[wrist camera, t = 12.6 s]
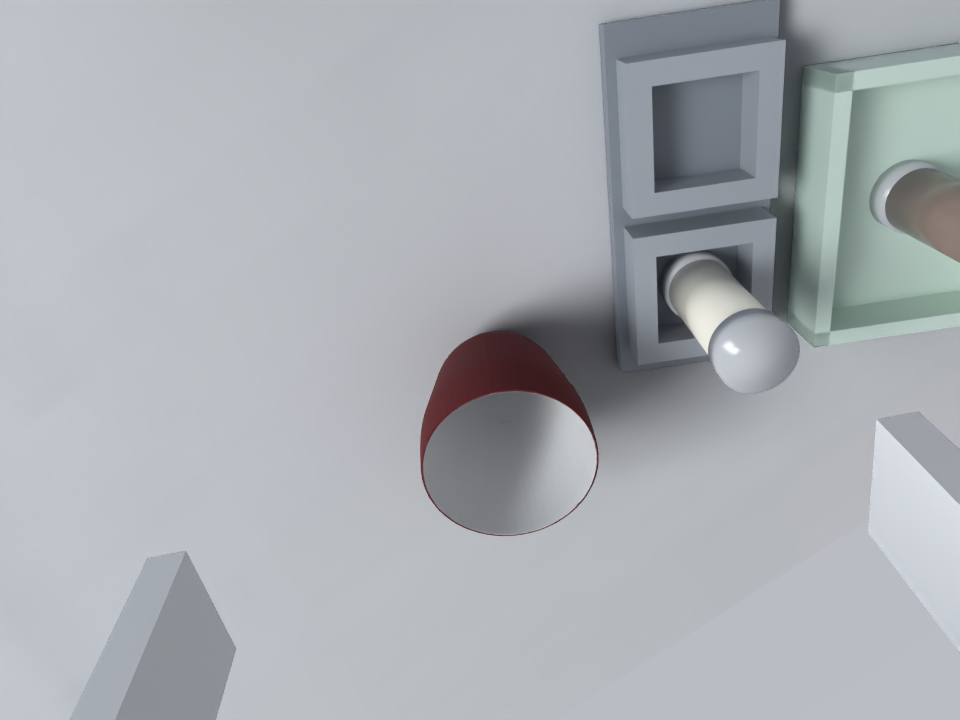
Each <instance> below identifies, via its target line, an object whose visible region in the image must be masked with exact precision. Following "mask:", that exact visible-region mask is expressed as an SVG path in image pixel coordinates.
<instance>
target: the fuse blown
mask: <svg viewBox="0 0 960 720" xmlns="http://www.w3.org/2000/svg"><path fill="white" fill-rule="evenodd" d="M869 206H870V211H871V213H872V215H873V217H874V218H875V220H876V221H877V222H879V223H880V224H882V225H884V226H886V227H888V228H889V229H891V230H893V231H895V232H897V233H901V234H907V235H909V236H911V237H913V238H915V239H916V240H918V241H920V242H922V243H924V244H926V245H928V246H929V247H931V248H933V249H935V250H937V251H939V252H940V253H942V254H944V255H946V256H948V257H950V258H952V259H953V260H955V261H957V262H959V263H960V179H959V178H956V177H954V176H951V175H949V174H947V173H946V172H945V171H944V170H943V169H941V168H939V167H937V166H934V165H932V164H929V163H926V162H924V161H921V160H913V159H912V160H905V161H901V162H899V163H896V164H894V165H893V166H891V167H890V168H888V169H887V170H886V171H885V172H883V173H882V174H881V176H880V177H879V178H878V179H877V181H876V182H875V184H874V186H873V188H872V191H871V194H870V199H869Z"/></svg>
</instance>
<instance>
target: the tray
mask: <svg viewBox="0 0 960 720" xmlns="http://www.w3.org/2000/svg"><path fill="white" fill-rule="evenodd" d="M912 159H913V160H921V161H924V162H926V163H929V164H932V165H934V166H937V167H939V168H941V169H943V170H944V171H945V172H946V173H947V174H949V175H951V176H954V177H956V178H959V179H960V43H955V44H949V45H942V46H935V47H929V48H922V49H915V50H909V51H902V52H895V53H889V54H882V55H875V56H869V57H862V58H855V59H849V60H842V61H835V62H829V63H822V64H815V65H809V66H803V76H802V92H801V107H800V123H799V139H798V155H797V170H796V186H795V202H794V218H793V233H792V249H791V265H790V281H789V296H788V312H787V322H788V323H789V324H790V325H791V326H792V327H793V328H794V329H795V330H796V331H797V332H798V333H799V334H800V335H801V336H802V337H803V338H804V339H805V340H806V341H807V342H808V343H809V344H810V345H812V346H813V347H820V346H827V345H834V344H841V343H848V342H855V341H861V340H868V339H875V338H882V337H889V336H896V335H903V334H909V333H916V332H923V331H930V330H937V329H944V328H951V327H957V326H960V263H959V262H957V261H955V260H953V259H952V258H950V257H948V256H946V255H944V254H942V253H940V252H939V251H937V250H935V249H933V248H931V247H929V246H928V245H926V244H924V243H922V242H920V241H918V240H916V239H915V238H913V237H911V236H909V235H907V234H901V233H897V232H895V231H893V230H891V229H889V228H888V227H886V226H884V225H882V224H880V223H879V222H877V221H876V220H875V218H874V217H873V215H872V213H871V211H870V206H869V199H870V194H871V191H872V188H873V186H874V184H875V182H876V181H877V179H878V178H879V177H880V176H881V174H882V173H883V172H885V171H886V170H887V169H888V168H890V167H891V166H893V165H894V164H896V163H899V162H901V161H905V160H912Z"/></svg>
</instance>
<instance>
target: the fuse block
mask: <svg viewBox="0 0 960 720" xmlns="http://www.w3.org/2000/svg"><path fill="white" fill-rule="evenodd" d="M779 12H780V0H756V1H749V2H743V3H736V4H729V5H723V6H716V7H710V8H703V9H696V10H690V11H683V12H676V13H670V14H663V15H657V16H650V17H643V18H637V19H630V20H624V21H617V22H610V23H604V24H599V36H600V54H601V72H602V90H603V108H604V127H605V145H606V163H607V181H608V199H609V218H610V236H611V254H612V272H613V290H614V309H615V327H616V345H617V363H618V367H619V369H620V371H621V373H627V372H634V371H641V370H648V369H655V368H662V367H668V366H675V365H682V364H689V363H696V362H703V361H709V357H708V354H707V353H706V351H705V350H704V349H703V347H702V346H701V345H700V343H699V342H698V340H697V339H696V338H695V336H694V335H693V334H692V332H691V331H690V330H689V328H688V327H687V325H686V324H685V323H684V321H683V320H682V319H681V317H680V316H678V315H676V314H675V313H674V312H673V311H672V310H671V309H670V307H669V306H668V304H667V303H666V302H665V300H664V299H663V297H662V295H661V292H660V287H659V282H660V276H661V273H662V271H663V269H664V267H665V266H666V264H667V263H668V262H669V261H670V260H671V259H672V258H673V257H675V256H676V255H678V254H680V253H687V252H694V251H700V250H707V251H710V252H712V253H713V254H715V255H716V256H717V257H718V258H719V259H720V260H721V261H722V262H723V263H724V264H725V265H726V266H727V267H728V268H729V270H730V272H731V274H732V276H733V277H734V278H735V279H736V280H737V281H738V282H739V283H740V284H741V285H742V286H743V287H744V288H745V289H746V290H747V291H748V292H749V293H750V294H751V295H752V296H753V297H754V298H755V299H756V300H757V301H758V302H759V303H760V304H761V305H762V306H763V307H764V308H765V309H766V310H769V311H771V312H772V297H773V278H774V259H775V240H776V221H777V218H776V217H775V216H773V215H772V214H771V213H770V199H771V198H778V183H779V164H780V145H781V126H782V107H783V88H784V69H785V50H786V40H785V39H779V38H778V33H779Z"/></svg>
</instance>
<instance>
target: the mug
mask: <svg viewBox="0 0 960 720" xmlns="http://www.w3.org/2000/svg"><path fill="white" fill-rule="evenodd" d="M420 457H421V474H422V480H423V484H424V487H425V489H426V492H427V494H428V496H429V498H430V499H431V501H432V502H433V504H434V505H435V506H436V507H437V508H438V510H439V511H440V512H441V513H443V514H444V515H445V516H446V517H447V518H449V519H450V520H451V521H453V522H455V523H456V524H458V525H460V526H462V527H464V528H466V529H469V530H472V531H475V532H478V533H482V534H487V535H495V536H514V535H522V534H527V533H531V532H535V531H538V530H541V529H544V528H546V527H549V526H551V525H553V524H555V523H557V522H558V521H560V520H561V519H563V518H565V517H566V516H567V515H569V514H570V513H571V512H572V511H573V510H574V509H576V508H577V507H578V505H579V504H580V503H581V502H582V501H583V500H584V498H585V497H586V496H587V494H588V492H589V491H590V489H591V487H592V485H593V483H594V480H595V477H596V474H597V469H598V447H597V442H596V438H595V435H594V431H593V428H592V425H591V422H590V419H589V416H588V414H587V411H586V408H585V406H584V404H583V402H582V400H581V398H580V397H579V395H578V393H577V392H576V390H575V389H574V387H573V386H572V384H571V383H570V382H569V381H568V379H567V378H566V377H565V375H564V374H563V373H562V372H561V370H560V369H559V368H558V366H557V365H556V364H555V363H554V361H553V360H552V359H551V357H550V356H549V355H548V354H547V353H546V352H545V351H544V350H543V349H542V348H541V347H540V346H539V345H537V344H536V343H535V342H533V341H531V340H530V339H528V338H526V337H523V336H521V335H518V334H515V333H510V332H502V331H494V332H486V333H482V334H479V335H476V336H474V337H472V338H470V339H468V340H466V341H465V342H463V343H462V344H460V345H459V346H458V347H457V348H456V349H455V350H454V351H453V352H452V353H451V354H450V355H449V356H448V358H447V359H446V361H445V362H444V364H443V366H442V368H441V370H440V372H439V375H438V377H437V380H436V383H435V386H434V389H433V391H432V394H431V397H430V400H429V403H428V406H427V408H426V411H425V415H424V419H423V423H422V430H421V443H420Z"/></svg>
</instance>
